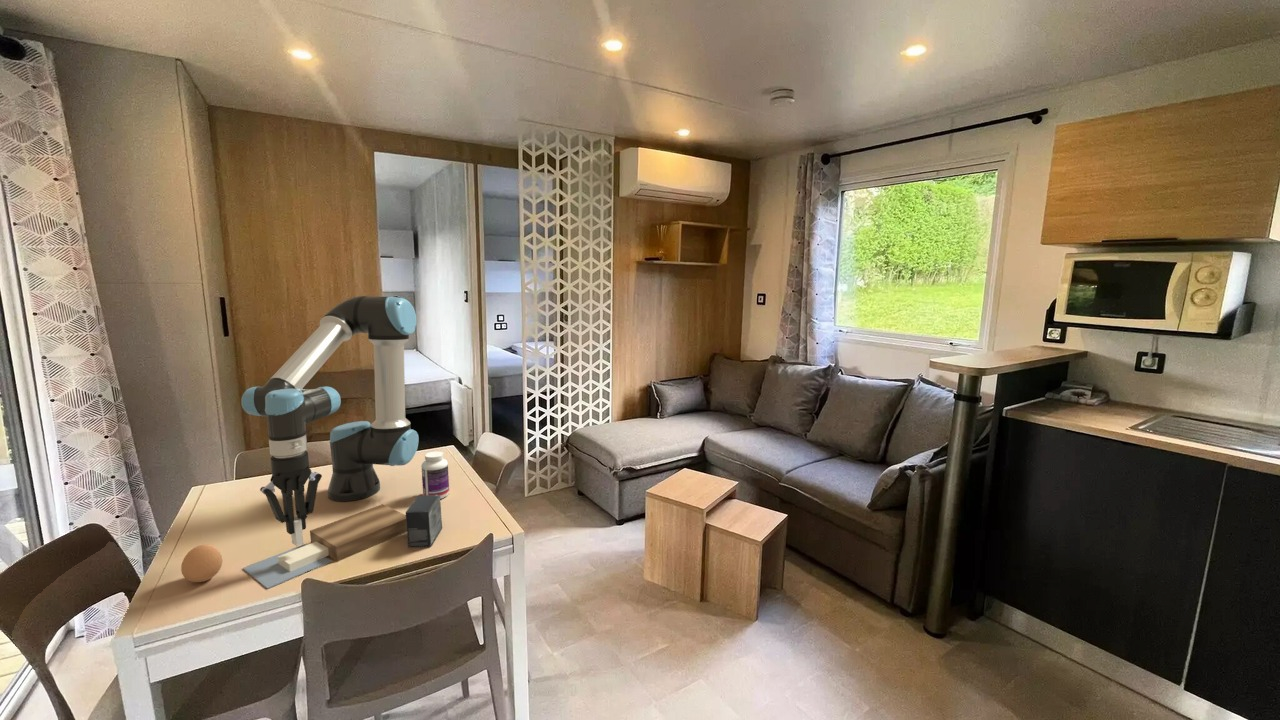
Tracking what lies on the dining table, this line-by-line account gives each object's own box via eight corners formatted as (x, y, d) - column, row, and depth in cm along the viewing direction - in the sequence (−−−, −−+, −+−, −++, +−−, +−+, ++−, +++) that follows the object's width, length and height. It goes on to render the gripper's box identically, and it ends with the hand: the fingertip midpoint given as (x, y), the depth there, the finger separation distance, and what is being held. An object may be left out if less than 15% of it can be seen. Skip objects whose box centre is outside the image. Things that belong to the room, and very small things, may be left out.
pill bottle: (454, 493, 171) (453, 451, 169) (437, 503, 164) (436, 460, 161) (434, 489, 174) (432, 448, 172) (417, 499, 166) (415, 456, 164)
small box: (419, 528, 148) (417, 494, 146) (443, 528, 148) (441, 494, 146) (406, 548, 137) (404, 511, 135) (431, 547, 138) (429, 510, 136)
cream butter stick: (278, 564, 128) (277, 556, 128) (316, 548, 135) (316, 541, 135) (290, 571, 125) (289, 564, 124) (328, 555, 132) (328, 548, 132)
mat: (242, 568, 126) (242, 567, 126) (305, 544, 137) (305, 543, 137) (267, 589, 118) (267, 588, 118) (331, 562, 130) (331, 560, 130)
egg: (212, 587, 119) (208, 553, 117) (175, 590, 117) (170, 556, 116) (230, 569, 126) (226, 537, 124) (195, 572, 124) (191, 539, 123)
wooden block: (311, 544, 138) (309, 530, 137) (383, 516, 154) (382, 504, 153) (337, 561, 130) (336, 546, 129) (410, 530, 146) (409, 517, 146)
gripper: (264, 464, 117) (274, 559, 121) (325, 449, 128) (332, 537, 132) (251, 457, 121) (261, 550, 125) (311, 443, 132) (318, 528, 136)
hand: (297, 543), depth 128 cm, fingers closed
